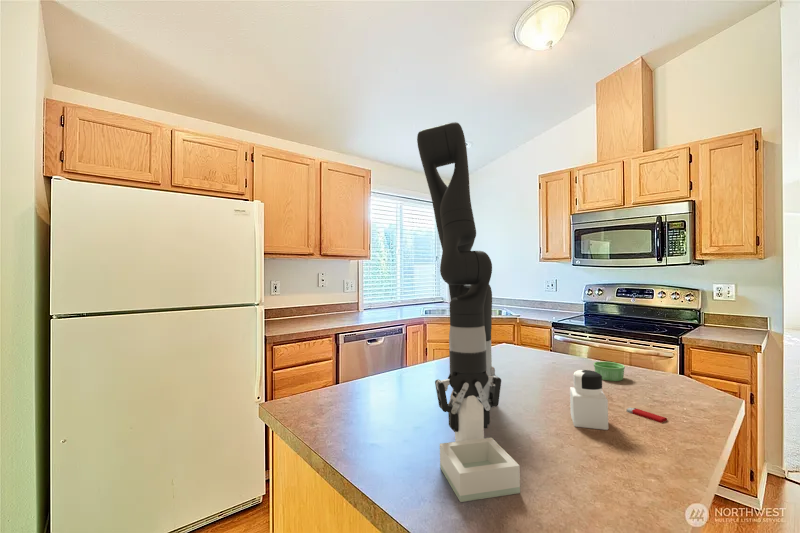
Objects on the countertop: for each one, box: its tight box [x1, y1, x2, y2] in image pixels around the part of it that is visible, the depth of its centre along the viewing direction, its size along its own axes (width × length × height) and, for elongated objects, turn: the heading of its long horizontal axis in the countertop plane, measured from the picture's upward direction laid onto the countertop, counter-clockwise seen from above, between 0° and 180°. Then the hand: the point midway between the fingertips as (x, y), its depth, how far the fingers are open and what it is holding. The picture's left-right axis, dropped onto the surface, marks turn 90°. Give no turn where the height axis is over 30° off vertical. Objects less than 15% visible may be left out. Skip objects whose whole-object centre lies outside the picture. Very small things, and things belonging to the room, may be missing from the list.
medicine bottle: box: [569, 369, 609, 431], centre depth 87 cm, size 7×7×12 cm
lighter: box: [626, 407, 668, 424], centre depth 90 cm, size 3×1×8 cm
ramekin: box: [593, 360, 625, 382], centre depth 122 cm, size 9×9×4 cm
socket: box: [439, 437, 521, 503], centre depth 65 cm, size 10×10×4 cm
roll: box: [454, 395, 485, 442], centre depth 76 cm, size 6×12×6 cm
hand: (469, 428), depth 76 cm, fingers closed on roll, 5 cm apart
